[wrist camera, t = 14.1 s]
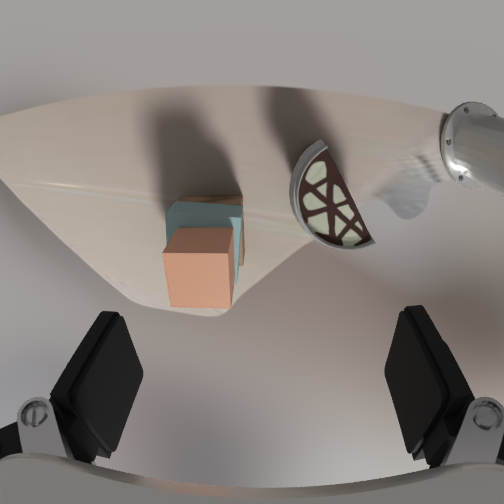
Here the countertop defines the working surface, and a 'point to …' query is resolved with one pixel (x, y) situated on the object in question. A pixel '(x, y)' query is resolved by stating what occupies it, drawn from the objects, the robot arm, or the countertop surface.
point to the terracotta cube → (200, 267)
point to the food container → (325, 202)
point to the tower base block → (222, 200)
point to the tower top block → (206, 220)
